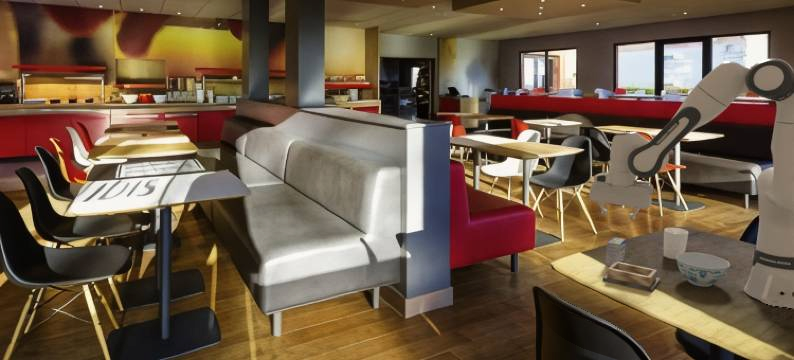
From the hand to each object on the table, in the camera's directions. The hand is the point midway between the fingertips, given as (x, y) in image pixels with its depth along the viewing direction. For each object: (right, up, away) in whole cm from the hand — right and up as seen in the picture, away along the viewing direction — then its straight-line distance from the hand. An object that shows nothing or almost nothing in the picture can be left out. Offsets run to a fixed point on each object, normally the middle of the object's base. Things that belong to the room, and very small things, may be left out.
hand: (617, 216), depth 185 cm
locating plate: (-1, -20, -12) cm, 24 cm away
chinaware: (+21, -21, -14) cm, 32 cm away
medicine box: (0, -17, +3) cm, 18 cm away
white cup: (+25, -16, +11) cm, 31 cm away
